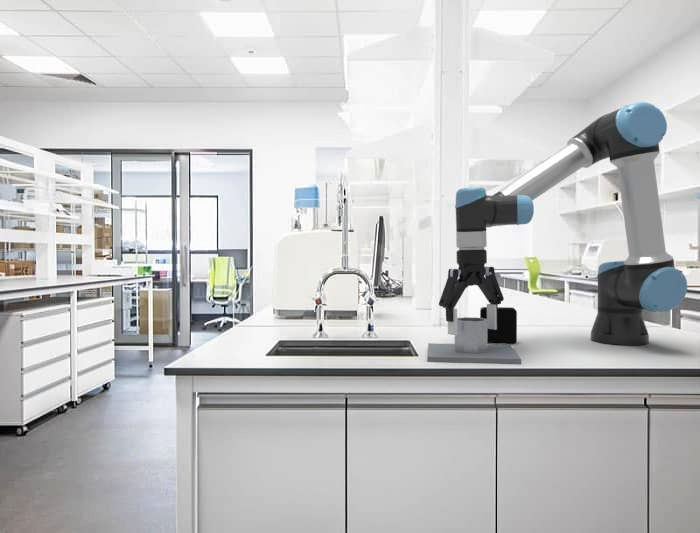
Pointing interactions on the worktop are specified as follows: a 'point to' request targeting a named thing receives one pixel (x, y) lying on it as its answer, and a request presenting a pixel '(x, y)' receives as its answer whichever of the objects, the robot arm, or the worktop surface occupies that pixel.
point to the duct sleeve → (471, 335)
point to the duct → (493, 355)
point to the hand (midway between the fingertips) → (472, 331)
